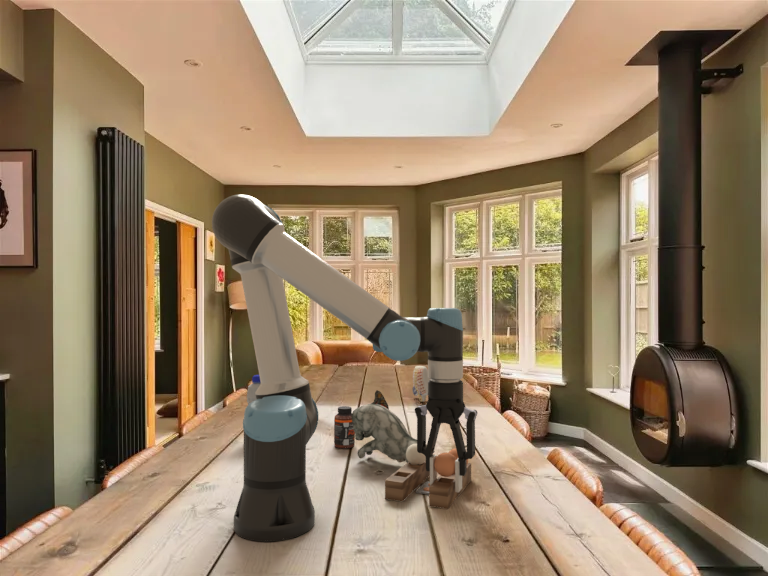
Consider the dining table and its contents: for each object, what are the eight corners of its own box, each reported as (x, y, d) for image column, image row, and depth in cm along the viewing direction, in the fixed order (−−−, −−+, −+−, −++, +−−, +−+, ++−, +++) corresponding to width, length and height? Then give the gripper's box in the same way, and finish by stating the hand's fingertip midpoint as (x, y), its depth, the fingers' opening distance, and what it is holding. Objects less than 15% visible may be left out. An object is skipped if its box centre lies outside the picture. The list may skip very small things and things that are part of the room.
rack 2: (447, 509, 111) (447, 489, 111) (429, 506, 113) (429, 486, 113) (471, 480, 128) (471, 463, 129) (454, 477, 130) (454, 461, 130)
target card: (434, 495, 119) (434, 493, 119) (415, 492, 120) (415, 490, 120) (444, 485, 125) (444, 483, 125) (426, 482, 127) (426, 480, 127)
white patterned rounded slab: (408, 397, 233) (408, 362, 234) (420, 396, 234) (420, 362, 235) (421, 407, 213) (421, 368, 213) (435, 406, 214) (435, 368, 214)
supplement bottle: (351, 449, 154) (351, 409, 154) (331, 448, 155) (331, 408, 155) (357, 444, 160) (357, 405, 160) (337, 443, 161) (337, 404, 161)
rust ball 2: (465, 475, 121) (464, 452, 122) (443, 472, 123) (443, 450, 124) (470, 468, 126) (470, 447, 126) (449, 465, 128) (449, 444, 128)
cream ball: (422, 469, 125) (422, 447, 126) (402, 466, 127) (402, 445, 128) (429, 463, 130) (429, 442, 130) (410, 460, 132) (410, 440, 132)
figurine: (349, 479, 138) (414, 468, 128) (344, 405, 145) (405, 390, 135) (372, 478, 146) (436, 468, 135) (366, 408, 153) (426, 394, 142)
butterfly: (399, 426, 182) (399, 396, 182) (370, 426, 181) (370, 396, 181) (394, 417, 194) (394, 389, 194) (367, 418, 193) (367, 390, 193)
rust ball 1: (453, 481, 113) (454, 457, 113) (431, 478, 115) (431, 454, 115) (460, 474, 118) (460, 451, 118) (438, 471, 120) (438, 448, 120)
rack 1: (402, 501, 115) (402, 482, 115) (385, 498, 117) (385, 480, 117) (431, 474, 133) (431, 458, 133) (415, 472, 134) (415, 456, 134)
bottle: (241, 443, 161) (241, 375, 161) (256, 437, 167) (256, 372, 167) (259, 445, 158) (259, 377, 158) (274, 440, 164) (274, 374, 164)
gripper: (490, 379, 117) (491, 488, 116) (412, 374, 124) (413, 477, 124) (482, 384, 110) (483, 500, 109) (400, 379, 117) (400, 488, 117)
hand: (446, 488), depth 117 cm, fingers closed on rust ball 1, 5 cm apart
